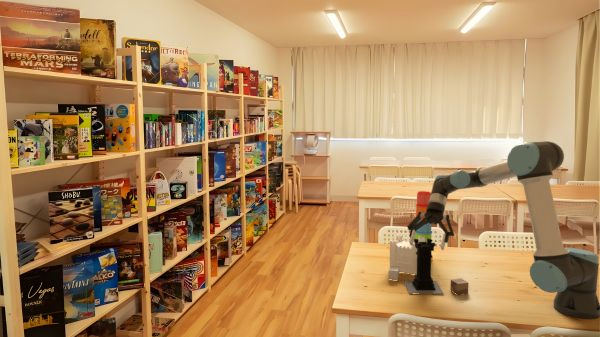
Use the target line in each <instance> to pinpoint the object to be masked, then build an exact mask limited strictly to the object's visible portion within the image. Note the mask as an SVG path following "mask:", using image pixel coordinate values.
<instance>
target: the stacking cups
mask: <svg viewBox="0 0 600 337" xmlns="http://www.w3.org/2000/svg"><path fill="white" fill-rule="evenodd" d="M430 196H431V191H426V190H425V191H424V190H421V191H417V193H416V204H415V217H416V216H417V215H418V213H419V212H421V213H424V214H425V213H426V210H427V206H428V204H429V199H430ZM423 218H425V217H423ZM423 218H421V219H420V221H421V220H423ZM420 221H419V222H420ZM426 221H427V220H426ZM419 222H418V223H419ZM415 232H416V234H415V238H414V239H418V237H419V236H422V237H425V242H427V239H431V240H432V234H433V231H432V224H429V223H427V224H425V225H423V226H422V227H421V228H419V229H418V230H416V231H415ZM432 252H433V251H431V255H432ZM432 256H433V255H432ZM432 259H433V260H434V257H433V258H431V261H433V260H432Z"/></svg>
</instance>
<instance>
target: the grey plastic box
mask: <svg viewBox="0 0 600 337" xmlns="http://www.w3.org/2000/svg"><path fill="white" fill-rule="evenodd" d="M398 278H399V279H400V273H399V267H397V266H390V265H389V268H388V280H389V279H392V280H398V281H399V279H398Z"/></svg>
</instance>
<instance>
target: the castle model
mask: <svg viewBox="0 0 600 337" xmlns="http://www.w3.org/2000/svg"><path fill="white" fill-rule="evenodd" d="M403 237H404V235H403V234H400V233H397V234H396V236H395V239H392V238H391V239H390V240H389V267H390V266H397V267H399V272H404V273H409V274H415V275H417V255H416V252H417V248H416V247H415V242H413V245H412V246H411V245H410V243H409V242H410V239H409V240H408V239H404V238H403ZM419 242H425V237H422V236H419V237H418V243H419Z"/></svg>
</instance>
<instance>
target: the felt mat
mask: <svg viewBox="0 0 600 337" xmlns="http://www.w3.org/2000/svg"><path fill="white" fill-rule="evenodd" d="M412 281H414V280H413V279H411V280H406V279H405V280H403V283H404V282H405V283H404V285H405V284H406V285H405V288H406V287H407V288H406V290H407V289H408V290H407V292H408V291H409V293H419V294H418V295H420V294H445V293H444V291H443V290H442V288H441V286H440V284H439V283H438V281H437V280H433V283H434V287H435V288H436V290H416V289H415V287H414V285H413V284H412ZM409 293H408V294H409Z"/></svg>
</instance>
